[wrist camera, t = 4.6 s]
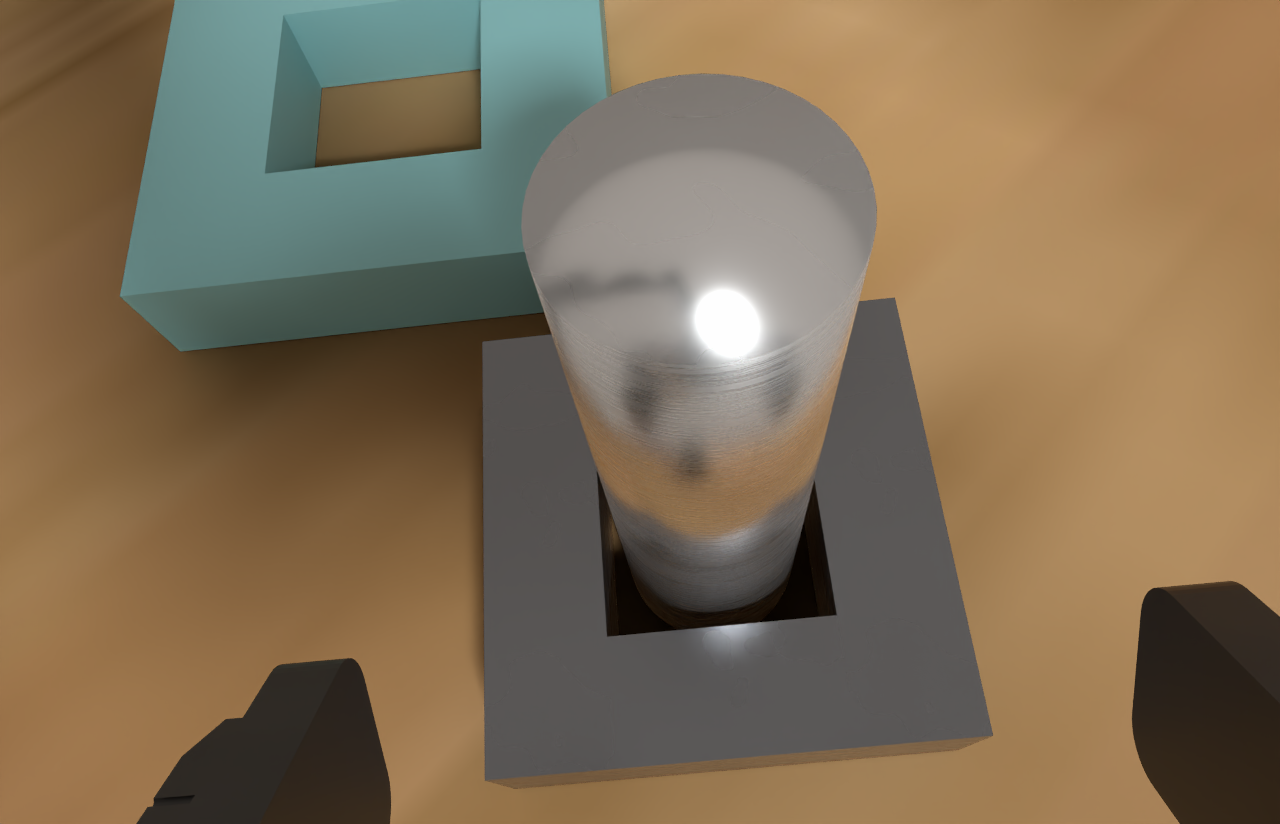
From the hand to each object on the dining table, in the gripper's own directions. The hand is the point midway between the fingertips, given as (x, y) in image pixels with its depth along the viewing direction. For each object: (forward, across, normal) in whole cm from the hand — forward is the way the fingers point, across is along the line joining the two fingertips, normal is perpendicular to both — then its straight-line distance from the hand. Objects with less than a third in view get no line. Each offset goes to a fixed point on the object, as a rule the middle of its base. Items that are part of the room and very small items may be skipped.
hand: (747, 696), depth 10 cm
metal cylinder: (+12, 0, +5) cm, 14 cm away
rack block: (+22, +8, -5) cm, 24 cm away
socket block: (+12, 0, +5) cm, 14 cm away
